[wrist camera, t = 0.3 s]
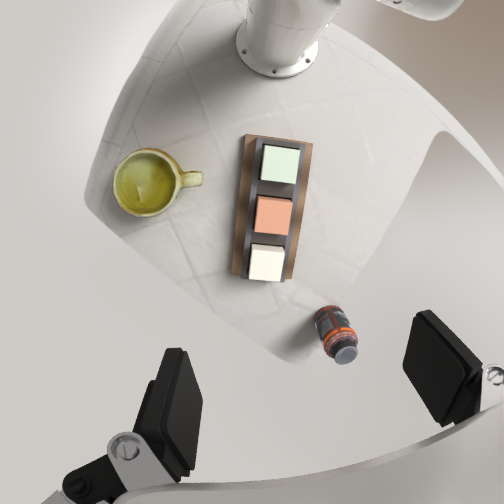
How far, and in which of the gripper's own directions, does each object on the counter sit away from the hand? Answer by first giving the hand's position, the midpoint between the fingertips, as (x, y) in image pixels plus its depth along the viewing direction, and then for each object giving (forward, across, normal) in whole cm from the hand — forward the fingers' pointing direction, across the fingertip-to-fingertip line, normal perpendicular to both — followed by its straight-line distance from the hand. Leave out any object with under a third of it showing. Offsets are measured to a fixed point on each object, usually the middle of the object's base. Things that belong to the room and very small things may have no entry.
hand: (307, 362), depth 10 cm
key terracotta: (+31, -2, +1) cm, 31 cm away
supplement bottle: (+36, -11, +22) cm, 43 cm away
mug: (+35, +13, -6) cm, 38 cm away
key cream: (+32, 0, +8) cm, 32 cm away
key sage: (+31, -3, -6) cm, 32 cm away
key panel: (+35, -2, 0) cm, 35 cm away
